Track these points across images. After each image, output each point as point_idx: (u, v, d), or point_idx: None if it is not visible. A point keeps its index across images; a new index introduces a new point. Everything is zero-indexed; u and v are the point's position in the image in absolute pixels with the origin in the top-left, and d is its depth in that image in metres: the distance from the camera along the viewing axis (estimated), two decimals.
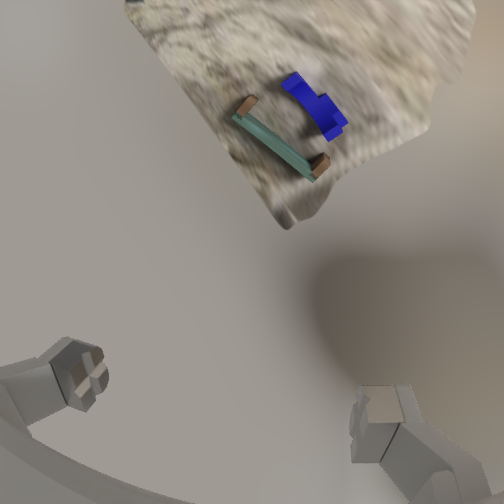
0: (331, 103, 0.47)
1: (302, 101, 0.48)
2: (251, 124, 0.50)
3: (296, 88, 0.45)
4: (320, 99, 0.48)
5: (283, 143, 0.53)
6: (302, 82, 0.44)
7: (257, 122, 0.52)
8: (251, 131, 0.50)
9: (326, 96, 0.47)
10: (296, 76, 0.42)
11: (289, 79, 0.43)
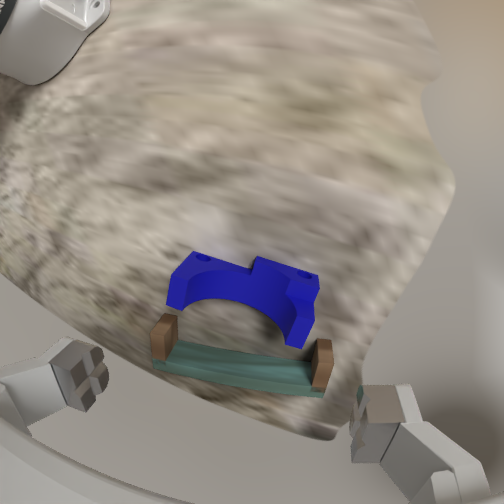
0: (273, 272, 0.28)
1: (228, 296, 0.30)
2: (182, 366, 0.30)
3: (200, 287, 0.27)
4: (253, 275, 0.29)
5: (248, 362, 0.32)
6: (199, 275, 0.27)
7: (196, 350, 0.33)
8: (189, 375, 0.31)
9: (258, 265, 0.28)
10: (176, 278, 0.25)
11: (171, 289, 0.25)
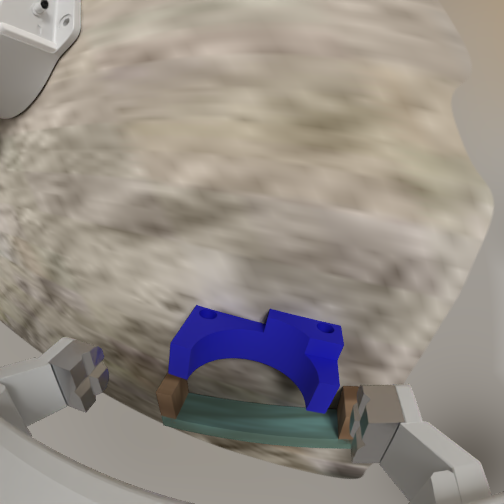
0: (289, 328, 0.23)
1: (240, 355, 0.25)
2: (194, 424, 0.26)
3: (206, 350, 0.23)
4: (266, 332, 0.24)
5: (268, 415, 0.27)
6: (204, 339, 0.22)
7: (209, 404, 0.28)
8: (203, 432, 0.26)
9: (272, 321, 0.24)
10: (177, 347, 0.21)
11: (172, 358, 0.21)
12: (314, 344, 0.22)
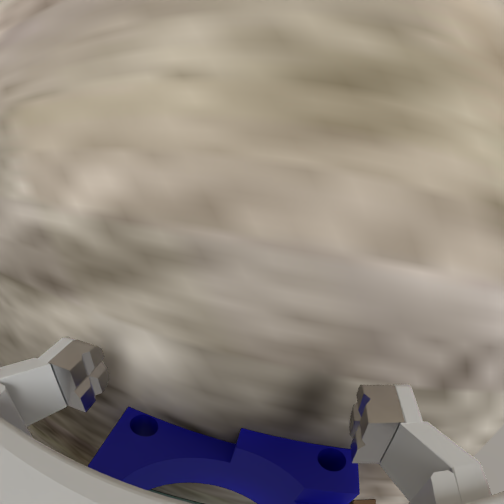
0: (271, 466, 0.12)
1: (197, 480, 0.13)
2: None
3: (140, 483, 0.12)
4: (235, 463, 0.13)
5: None
6: (131, 476, 0.11)
7: None
8: None
9: (243, 453, 0.12)
10: None
11: None
12: (311, 494, 0.11)
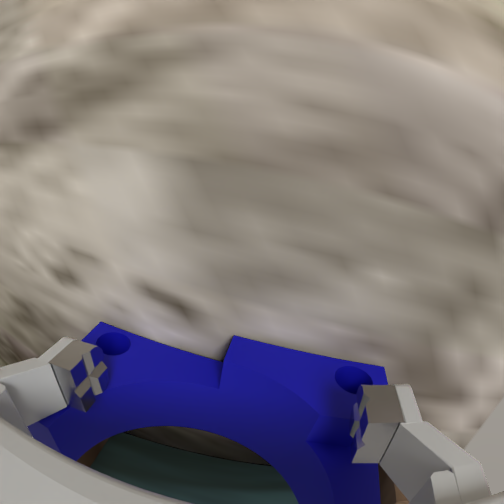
0: (272, 387, 0.10)
1: (179, 421, 0.12)
2: None
3: (103, 418, 0.10)
4: (225, 389, 0.11)
5: (244, 485, 0.13)
6: None
7: (144, 454, 0.14)
8: None
9: (234, 369, 0.10)
10: None
11: (32, 432, 0.08)
12: (329, 426, 0.09)
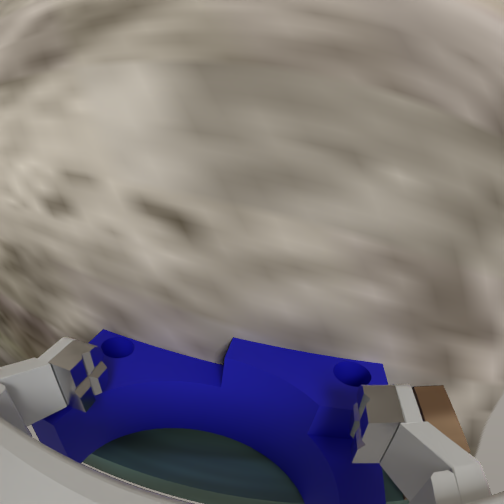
0: (273, 382, 0.10)
1: (183, 423, 0.12)
2: (98, 458, 0.10)
3: (108, 419, 0.10)
4: (227, 387, 0.11)
5: (250, 453, 0.12)
6: None
7: None
8: (117, 474, 0.11)
9: (234, 366, 0.11)
10: None
11: (38, 433, 0.08)
12: (329, 417, 0.09)
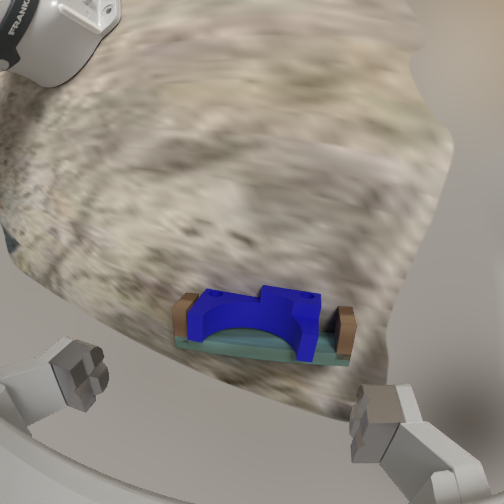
0: (278, 297, 0.31)
1: (243, 324, 0.33)
2: (205, 342, 0.31)
3: (215, 320, 0.31)
4: (261, 303, 0.32)
5: (271, 335, 0.32)
6: (213, 310, 0.30)
7: None
8: (212, 351, 0.31)
9: (264, 293, 0.31)
10: (192, 315, 0.28)
11: (189, 326, 0.29)
12: (298, 307, 0.30)
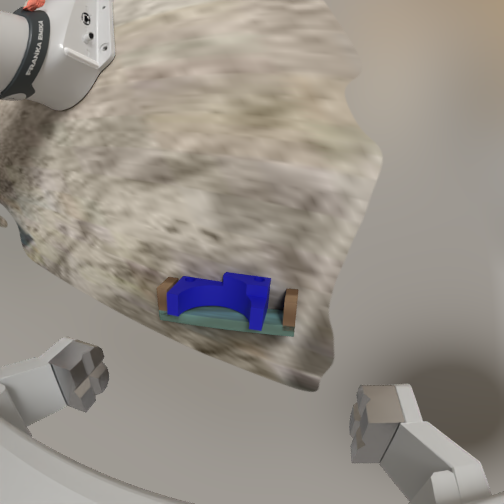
0: (236, 281, 0.40)
1: (211, 303, 0.42)
2: (181, 314, 0.40)
3: (189, 299, 0.40)
4: (224, 285, 0.41)
5: (233, 311, 0.42)
6: (186, 291, 0.39)
7: None
8: (187, 322, 0.41)
9: (226, 278, 0.41)
10: (170, 295, 0.38)
11: (168, 303, 0.38)
12: (250, 288, 0.39)
